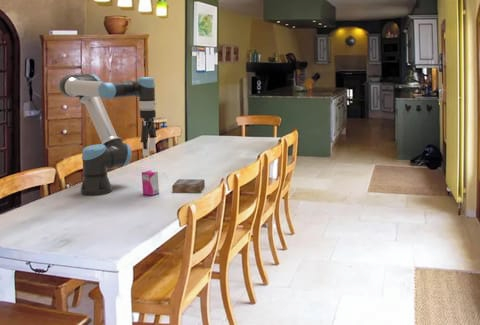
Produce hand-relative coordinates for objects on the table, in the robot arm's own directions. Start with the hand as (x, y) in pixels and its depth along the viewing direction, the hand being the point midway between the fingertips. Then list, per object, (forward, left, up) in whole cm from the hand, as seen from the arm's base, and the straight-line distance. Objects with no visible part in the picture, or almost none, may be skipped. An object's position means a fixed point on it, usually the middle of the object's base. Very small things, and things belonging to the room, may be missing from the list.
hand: (149, 153), depth 280 cm
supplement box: (0, 0, -21) cm, 21 cm away
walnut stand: (+17, +11, -21) cm, 29 cm away
